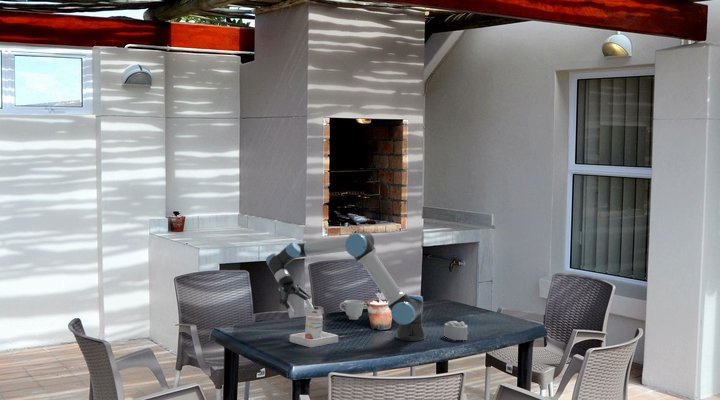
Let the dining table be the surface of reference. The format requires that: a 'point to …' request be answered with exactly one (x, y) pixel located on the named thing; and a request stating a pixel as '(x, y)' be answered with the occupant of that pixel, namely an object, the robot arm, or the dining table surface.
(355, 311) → the teacup
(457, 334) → the lumpy-topped squat cylinder
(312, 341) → the tray
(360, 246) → the robot arm
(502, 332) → the dining table surface
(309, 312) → the ink cartridge box
